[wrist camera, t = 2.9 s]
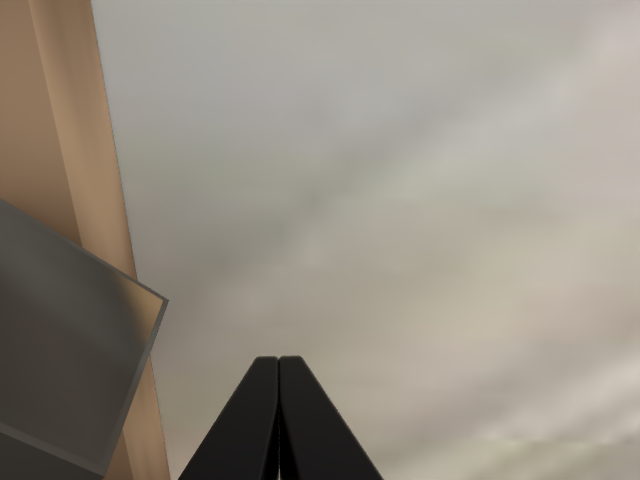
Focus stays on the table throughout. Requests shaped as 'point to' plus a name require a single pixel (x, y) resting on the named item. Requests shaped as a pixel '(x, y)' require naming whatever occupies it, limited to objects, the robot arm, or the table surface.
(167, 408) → the table surface
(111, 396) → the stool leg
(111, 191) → the brown wooden block
